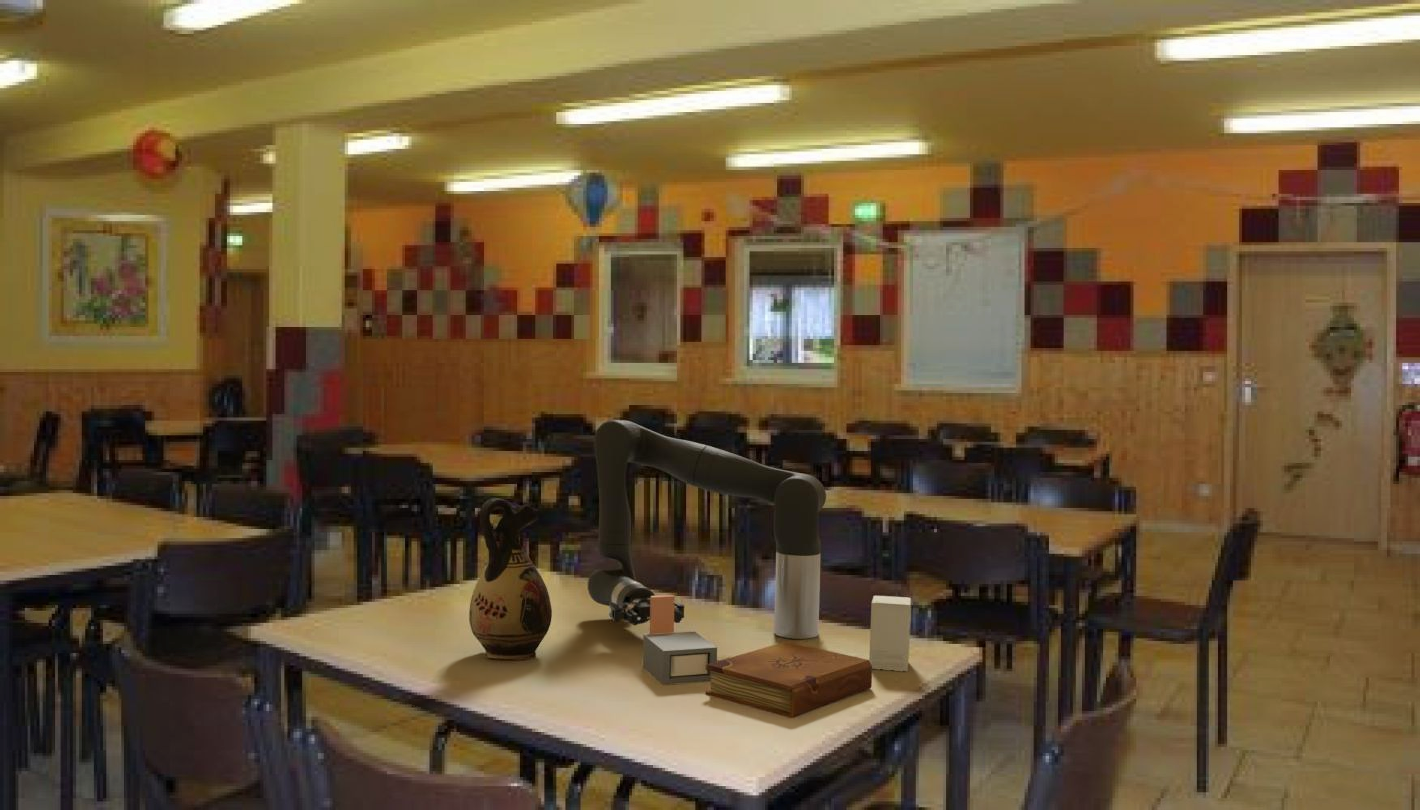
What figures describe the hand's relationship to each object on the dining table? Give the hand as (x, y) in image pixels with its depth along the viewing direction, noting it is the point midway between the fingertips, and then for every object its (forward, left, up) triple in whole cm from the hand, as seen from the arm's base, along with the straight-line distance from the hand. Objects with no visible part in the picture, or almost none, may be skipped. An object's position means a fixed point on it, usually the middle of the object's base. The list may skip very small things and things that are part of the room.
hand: (657, 619), depth 223 cm
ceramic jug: (+14, -25, -7) cm, 29 cm away
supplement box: (-16, +41, -7) cm, 45 cm away
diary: (+10, +31, -8) cm, 33 cm away
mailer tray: (+7, +7, -7) cm, 12 cm away
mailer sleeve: (+9, +9, -7) cm, 15 cm away
